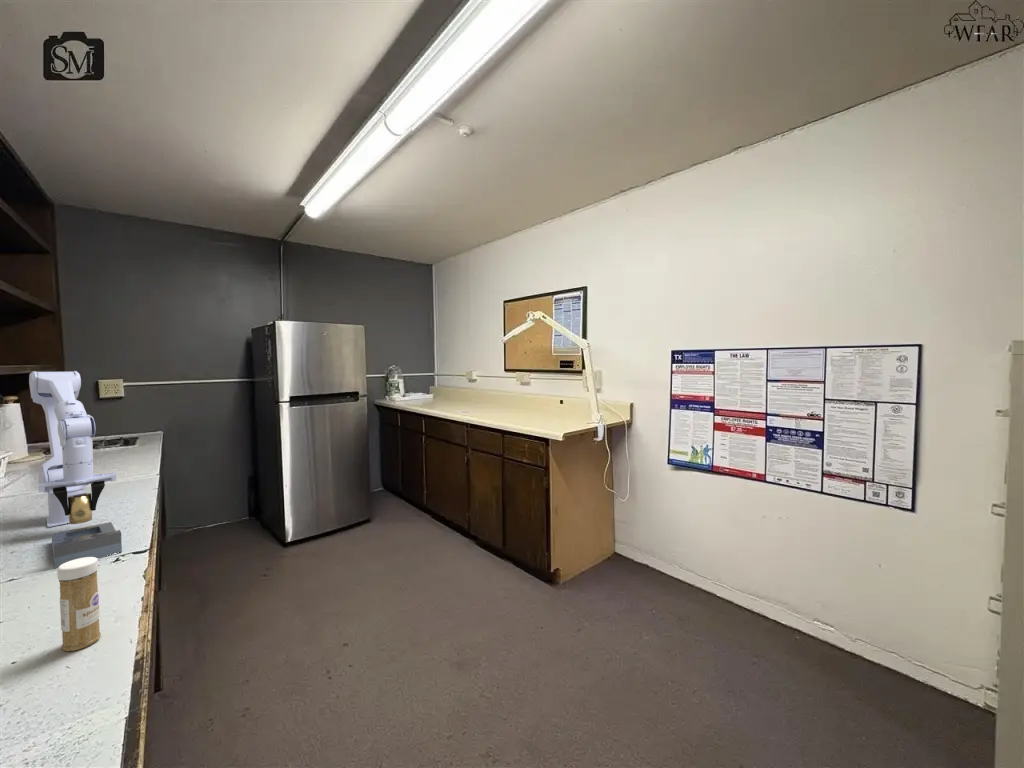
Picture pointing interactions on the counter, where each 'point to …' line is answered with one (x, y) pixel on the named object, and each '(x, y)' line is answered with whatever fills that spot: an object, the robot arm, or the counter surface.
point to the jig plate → (82, 535)
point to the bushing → (80, 508)
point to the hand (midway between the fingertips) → (80, 512)
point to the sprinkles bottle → (79, 603)
